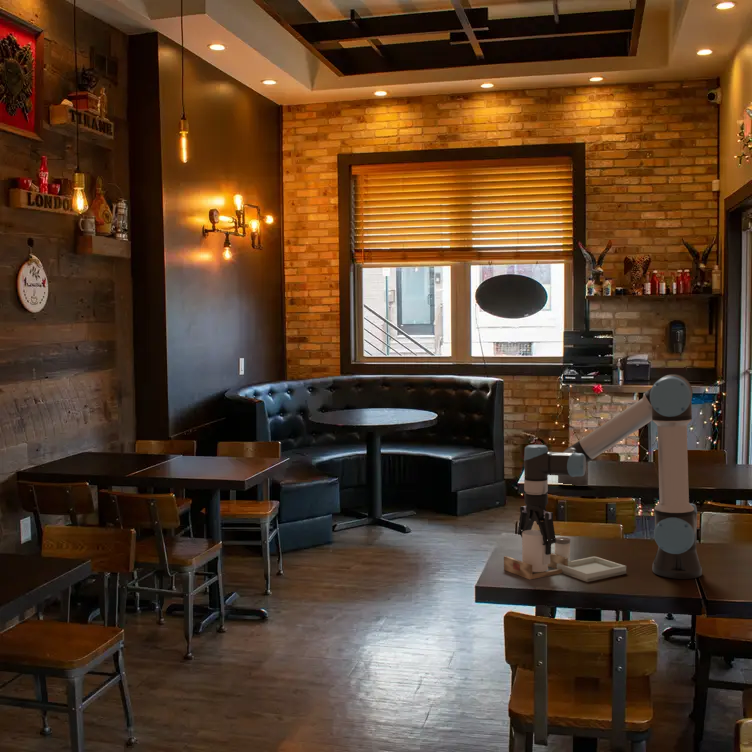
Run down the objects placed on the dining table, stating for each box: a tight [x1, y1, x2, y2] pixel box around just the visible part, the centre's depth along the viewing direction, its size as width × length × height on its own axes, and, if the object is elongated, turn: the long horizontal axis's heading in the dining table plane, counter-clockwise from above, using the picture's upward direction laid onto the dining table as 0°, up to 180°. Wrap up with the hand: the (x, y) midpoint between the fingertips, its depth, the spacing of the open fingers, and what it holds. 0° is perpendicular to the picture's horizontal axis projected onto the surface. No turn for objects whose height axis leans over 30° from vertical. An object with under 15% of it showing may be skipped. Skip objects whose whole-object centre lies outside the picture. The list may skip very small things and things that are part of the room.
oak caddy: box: [503, 552, 568, 580], centre depth 294 cm, size 13×16×4 cm
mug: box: [521, 529, 549, 573], centre depth 295 cm, size 12×8×12 cm
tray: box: [557, 555, 627, 583], centre depth 292 cm, size 14×17×2 cm
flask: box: [557, 462, 589, 486], centre depth 439 cm, size 4×14×18 cm, turn 78°
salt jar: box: [554, 536, 571, 561], centre depth 300 cm, size 5×5×9 cm
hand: (536, 560), depth 294 cm, fingers closed on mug, 9 cm apart
